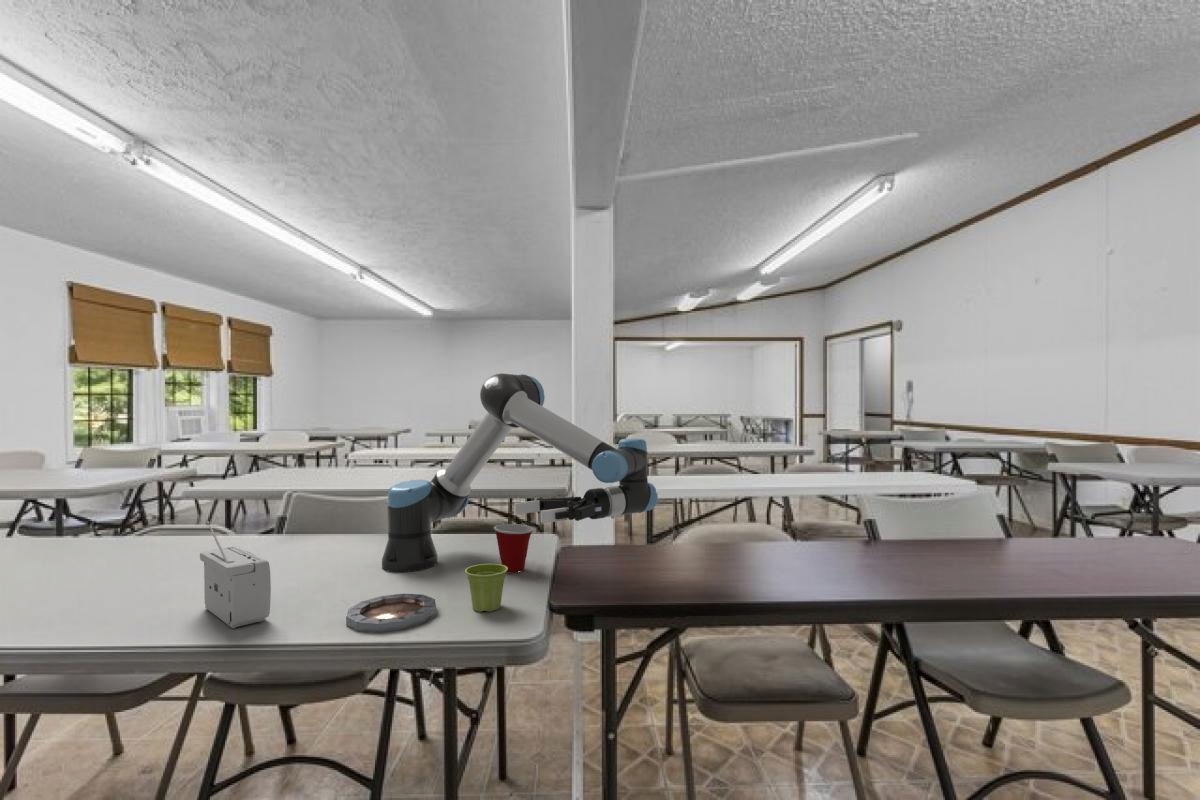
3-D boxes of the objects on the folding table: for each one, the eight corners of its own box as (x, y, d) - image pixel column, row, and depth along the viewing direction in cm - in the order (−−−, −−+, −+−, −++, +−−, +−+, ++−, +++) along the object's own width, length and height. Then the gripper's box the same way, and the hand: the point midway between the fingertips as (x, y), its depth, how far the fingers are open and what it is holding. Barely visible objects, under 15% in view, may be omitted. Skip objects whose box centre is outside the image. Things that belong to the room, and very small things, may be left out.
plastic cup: (533, 575, 156) (533, 530, 156) (492, 577, 154) (492, 531, 154) (534, 564, 166) (533, 521, 166) (495, 565, 165) (495, 523, 165)
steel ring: (351, 607, 132) (350, 599, 133) (433, 597, 138) (433, 590, 138) (343, 637, 115) (343, 628, 115) (438, 625, 121) (438, 616, 121)
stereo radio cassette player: (272, 621, 125) (271, 527, 125) (228, 632, 119) (227, 534, 119) (239, 599, 139) (238, 515, 139) (198, 609, 133) (197, 521, 133)
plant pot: (489, 597, 138) (489, 561, 138) (516, 606, 132) (516, 567, 132) (456, 609, 131) (456, 570, 131) (484, 618, 125) (483, 577, 125)
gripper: (632, 525, 138) (553, 538, 126) (577, 510, 159) (505, 520, 147) (632, 493, 138) (553, 503, 126) (577, 483, 159) (505, 490, 147)
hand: (527, 512), depth 136 cm, fingers open, 13 cm apart
